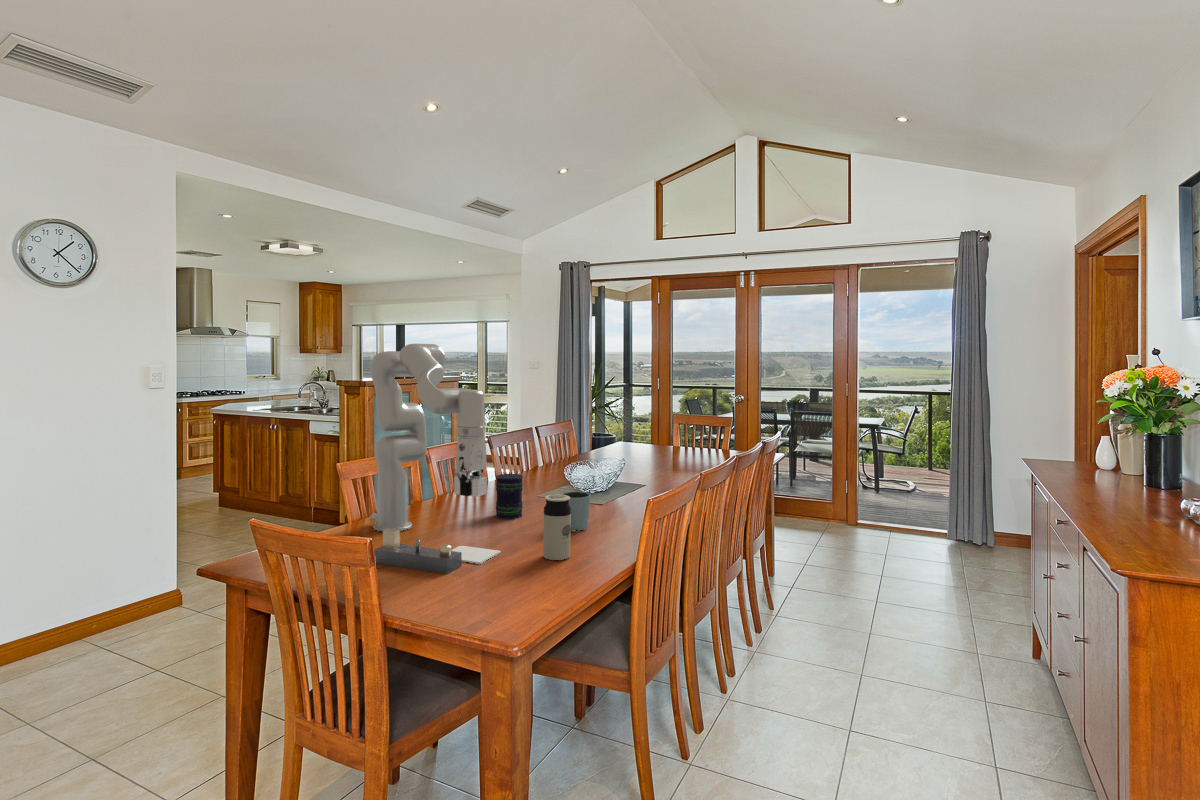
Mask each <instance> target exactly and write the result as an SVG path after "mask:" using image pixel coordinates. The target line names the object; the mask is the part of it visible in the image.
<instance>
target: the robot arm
mask: <svg viewBox="0 0 1200 800" xmlns="http://www.w3.org/2000/svg"><path fill="white" fill-rule="evenodd" d="M445 363H446V353H445V351H444V350H443V348H442V347H441V346H439V345H438V344H435V343H434V344H433V343H409V344H406V345H405V346H403V347H402V348H401V349H400V350H399V351H398V350H394V351H391V350H390V351H389V350H388V351H380V352H378V353H376V354H375V355H374V356H373V358H372V360H371V363H370V376H371V380H372V384H373V386H374V389H375V404H376V416H377V424H378V427H379V429H380V430H381V431H383V432H401V431H406V432H407V433H406V434H392V435H385V436H383V437H381V438H379V439H377V441H376V442H375V444H374V455H375V461H376V468H377V513H375V512H373V513H371V515H370V516H369V520H370V521H375V522H374V524H373V527H372V528H374V529H375V530H377V531H376V532H379V531H383V530H384V529H387V528H392V529H400V532H403V530H404V531H407V529H408V530H410V529H411V528H412V527H413V523H412V522H411V521H409V520H408V475H407V472H406V471H405V469H404V468H403V467H404V466H402V464H403V463H409V462H417V461H421V460H422V459H424V458H425V457H426V455H427V449H428V445H427V443H428V442H427V441H428V439H427V426H426V425H427V423H426V422H427V421H426V416H425V412H424V410H423V409H424V408H422V406H421V405H420V404H418V403H416V402H404V400H403V399H404V398H403V390H402V387H401V385H400V384H399V382H398V381H397V380H396V379H395V378H396V377H397V378H399V377H400V378H403V377H404V378H407V377H408V378H410V377H411V378H413V377H414V378H415V379H416V380H417V385H416V392H417V395H418V399H419V401H421V403H422V405H424V407H425V408H426V409H427V410H428V411H430V412H431V413H433V414H436V415H445V414H447V415H448V414H457V443H456V444H457V445H456V457H455V458H456V459H455V461H456V462H455V466H456V469H455V470H454V473H455V475H456V477H457V476H458V478H459V482H460V495H459V496H465V497H471V496H470V495H471V482H469V479H470V475H474V476H483V475H482V474H483V472H484V470H485V469H486V467H487V464H488V463H487V460H488V459H487V445H486V438H485V394H484V392H483V391H482V390H479V389H468V388H463V387H460V388H459V387H450V388H449V387H445V388H444V387H443V388H438V387H436V386H438V385H439V383H441V382H442V380H443V379H444V377H445V376H444V375H445V369H444V365H445ZM465 475H466V476H465ZM374 529H373V530H374ZM375 530H374V531H375Z"/></svg>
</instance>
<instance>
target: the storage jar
mask: <svg viewBox="0 0 1200 800" xmlns="http://www.w3.org/2000/svg"><path fill="white" fill-rule="evenodd" d="M495 479H496V480H495V491H496V503H495V517H496V518H498V519H501V520H516V519H515V518H517V519H520V518H522V517H523V500H522V499H523V498H522V497H523V496H522V495H523V494H522V492H523V490H524V489H523V485H524V483H523V481H524V480H523V475H522V474H518V473H503V474H498V475H496V477H495ZM519 517H520V518H519Z"/></svg>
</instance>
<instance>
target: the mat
mask: <svg viewBox="0 0 1200 800" xmlns="http://www.w3.org/2000/svg"><path fill="white" fill-rule="evenodd" d="M451 551H455V552H462V563H466V562H469V564H473V563H475V565H480V564H481V565H482V564H484V563H485V561H486V560H488V559H489V560H491V559H492V557H493V558H494V556H495V557H496V556H498V555H499V553H500V554H501V553H502V551H501V550H498V549H490V548H483V547H474V546H468V545H467V546H466V545H458V546H457V547H454V548H453V549H452V548H451ZM497 554H498V555H497ZM490 558H491V559H490ZM489 560H488V561H489ZM483 562H484V563H483ZM486 562H487V561H486Z"/></svg>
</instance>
